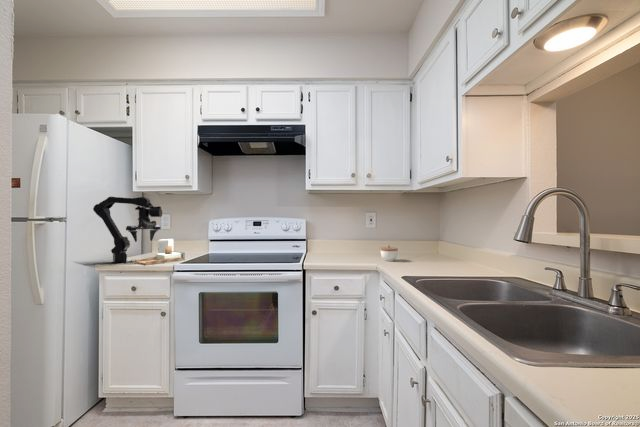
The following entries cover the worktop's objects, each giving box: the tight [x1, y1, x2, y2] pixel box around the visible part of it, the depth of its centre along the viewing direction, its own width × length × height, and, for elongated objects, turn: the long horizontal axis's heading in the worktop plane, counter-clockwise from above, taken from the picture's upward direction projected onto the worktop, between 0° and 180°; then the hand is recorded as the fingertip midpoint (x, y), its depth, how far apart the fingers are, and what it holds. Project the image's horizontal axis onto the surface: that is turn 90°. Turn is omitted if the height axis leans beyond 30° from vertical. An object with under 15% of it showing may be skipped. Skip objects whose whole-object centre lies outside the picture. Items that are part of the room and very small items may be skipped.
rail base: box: [135, 250, 186, 266], centre depth 194 cm, size 24×14×5 cm, turn 144°
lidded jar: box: [379, 245, 399, 262], centre depth 193 cm, size 11×11×9 cm
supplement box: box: [157, 238, 174, 254], centre depth 214 cm, size 7×7×13 cm
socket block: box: [155, 252, 181, 260], centre depth 198 cm, size 11×11×3 cm
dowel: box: [165, 246, 172, 255], centre depth 198 cm, size 4×4×8 cm
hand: (143, 241), depth 195 cm, fingers open, 9 cm apart
